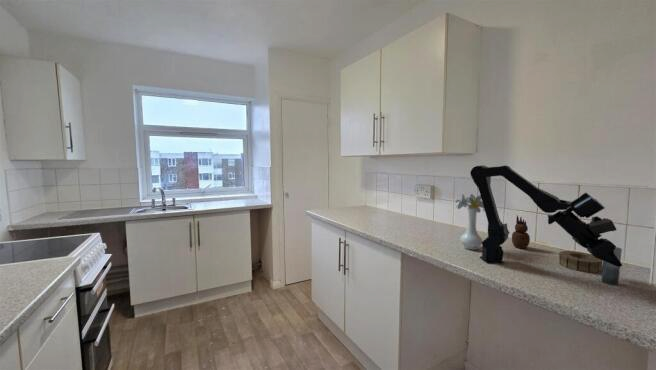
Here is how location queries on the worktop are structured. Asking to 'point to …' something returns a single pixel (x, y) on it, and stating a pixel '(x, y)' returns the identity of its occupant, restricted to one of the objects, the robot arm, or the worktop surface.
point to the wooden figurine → (520, 234)
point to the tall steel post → (611, 270)
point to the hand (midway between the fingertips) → (613, 261)
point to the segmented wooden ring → (580, 261)
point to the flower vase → (471, 221)
